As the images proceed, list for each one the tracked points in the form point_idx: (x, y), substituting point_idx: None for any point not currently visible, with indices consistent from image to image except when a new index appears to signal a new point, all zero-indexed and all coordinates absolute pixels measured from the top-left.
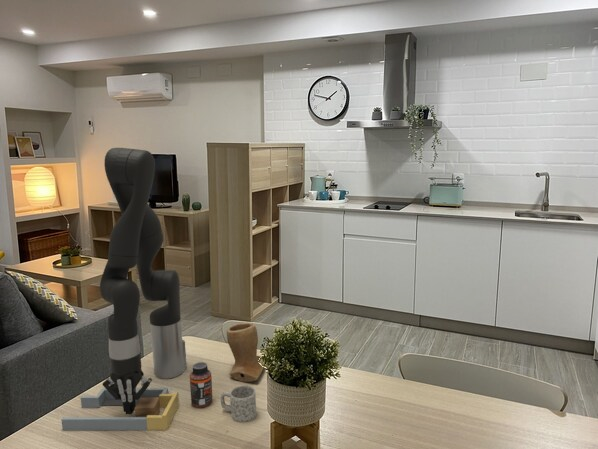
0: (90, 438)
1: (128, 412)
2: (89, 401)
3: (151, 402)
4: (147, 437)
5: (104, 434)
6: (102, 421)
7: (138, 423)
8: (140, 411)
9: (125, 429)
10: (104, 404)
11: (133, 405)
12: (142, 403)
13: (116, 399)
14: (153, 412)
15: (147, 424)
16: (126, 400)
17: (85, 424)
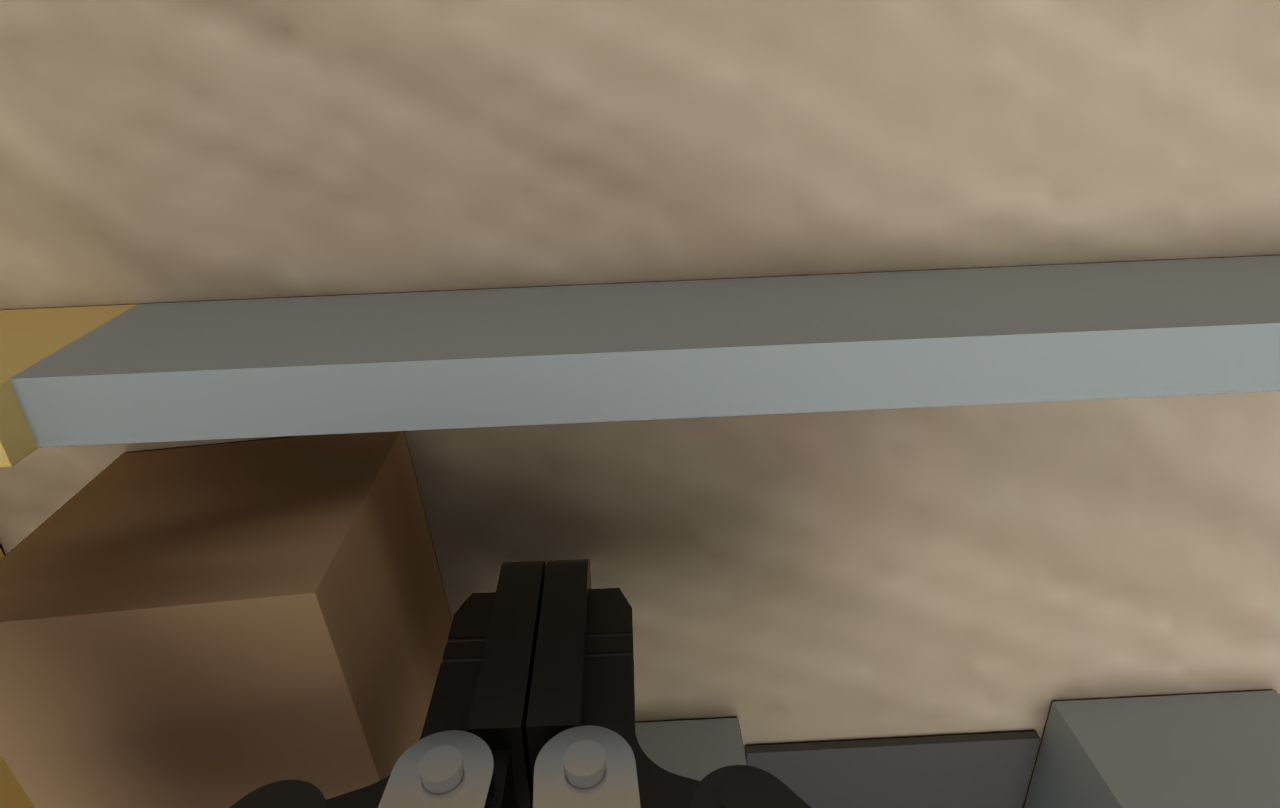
0: (972, 49)
1: (538, 578)
2: (1228, 767)
3: (103, 760)
4: (4, 114)
5: (775, 167)
6: (881, 326)
7: (220, 339)
8: (227, 557)
9: (484, 291)
10: (1006, 749)
11: (435, 684)
12: (255, 728)
13: (750, 769)
14: (10, 562)
15: (71, 339)
16: (550, 765)
17: (1166, 293)
